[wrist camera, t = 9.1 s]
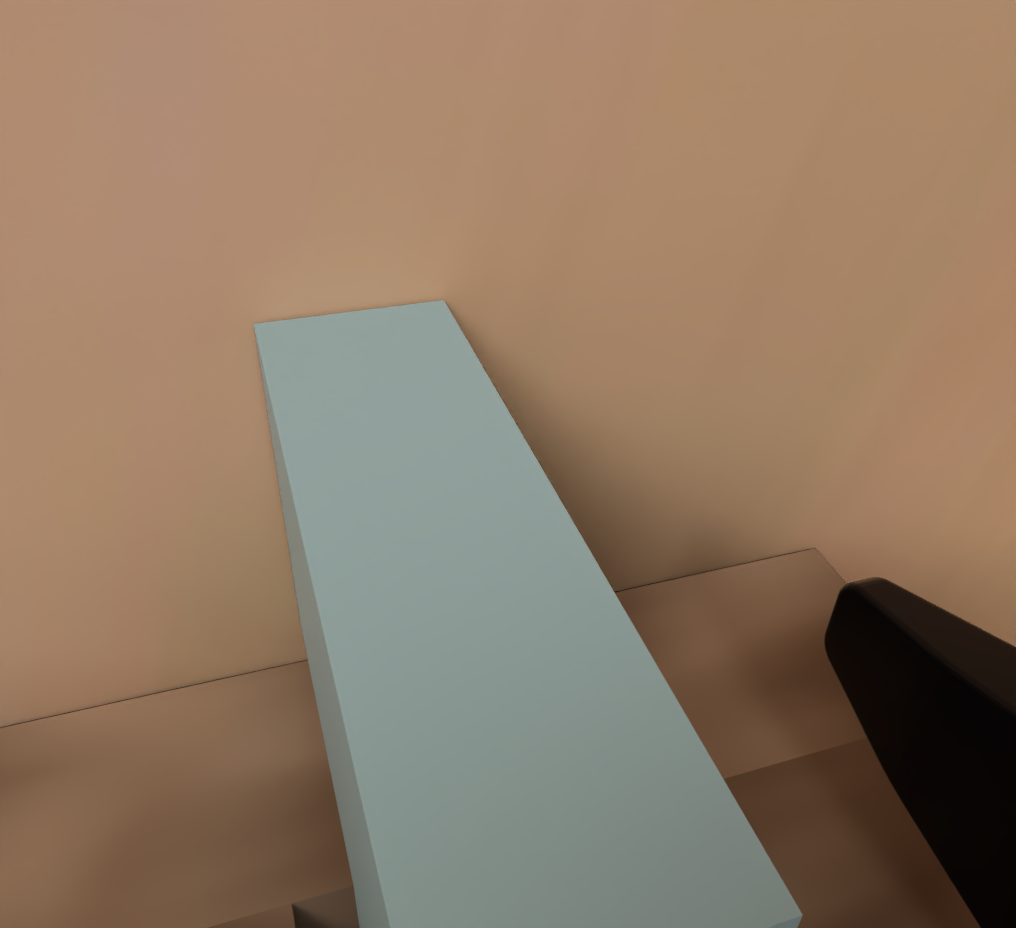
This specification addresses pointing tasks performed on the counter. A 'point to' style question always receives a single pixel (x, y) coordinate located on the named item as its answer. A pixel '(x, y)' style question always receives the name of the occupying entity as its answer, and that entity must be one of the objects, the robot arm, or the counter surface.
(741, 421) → the counter surface
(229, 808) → the walnut slotted plate
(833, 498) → the counter surface
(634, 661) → the teal slotted plate
